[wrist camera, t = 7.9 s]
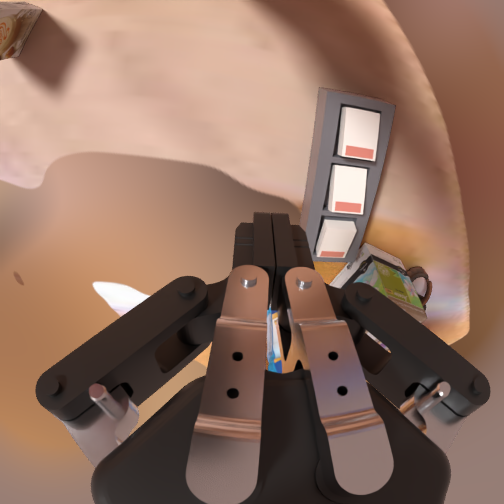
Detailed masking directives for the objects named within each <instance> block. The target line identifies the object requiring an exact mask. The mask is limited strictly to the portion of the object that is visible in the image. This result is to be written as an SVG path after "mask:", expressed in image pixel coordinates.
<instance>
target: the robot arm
mask: <svg viewBox="0 0 504 504" xmlns="http://www.w3.org/2000/svg"><path fill="white" fill-rule="evenodd" d="M270 306H271V310H275V311H277V314H278V319H277V324H276V329H277V336H278V342H279V349H280V355H281V362H282V373H277V372H272V371H268V370H265V358H266V342H267V310H269V307H270ZM366 331H368V332H369V333H371V334H372V335H373V336H374V337H375V338H377V339H378V340H379V341H380V342H382V343H383V344H384V345H385V346H386V347H388V348H389V350H390V351H391V353H389V352H388V351H387V350H385V349H384V348H383V347H382V346H381V345H379V344H378V343H377V342H376V341H375V340H373V339H372V338H371V337H370V336H369V335H367V334H366V333H365V332H366ZM212 341H213V342H212ZM211 342H212V347H211V352H210V357H209V362H208V367H207V372H206V375H205V376H203V377H200V378H197V379H195V380H194V381H192V382H190V383H188V384H187V385H186V386H184V387H183V388H182V389H181V390H180V391H179V392H178V393H177V394H175V395H174V396H173V397H172V398H171V399H170V400H169V401H168V402H167V403H166V404H165V405H164V406H163V407H161V408H160V409H159V410H158V411H157V412H156V413H155V414H154V415H153V416H152V417H151V418H149V419H148V420H147V421H146V422H145V423H144V424H143V425H142V426H141V427H139V428H138V429H137V430H136V431H135V432H134V433H133V434H131V435H130V436H129V434H130V432H131V430H132V429H133V428H134V427H135V426H136V424H137V422H138V419H139V411H138V408H137V406H139V405H140V404H141V403H143V402H144V401H145V400H146V399H147V398H149V397H150V396H151V395H152V394H153V393H155V392H156V391H157V390H158V389H159V388H161V387H162V386H163V385H164V384H165V383H166V382H168V381H169V380H170V379H171V378H172V377H174V376H175V375H176V374H177V373H178V372H180V371H181V370H182V369H183V368H184V367H185V366H186V365H188V363H190V362H191V361H192V360H193V359H195V358H196V357H197V356H198V355H199V354H200V353H201V352H203V351H204V350H205V349H206V348H207V347H208V346H209V345H210V343H211ZM366 380H367V381H368V382H369V383H370V384H369V383H368V382H367V381H366ZM374 387H375V388H376V389H377V390H378V391H377V390H376V389H375V388H374ZM382 394H383V395H384V396H385V397H386V398H387V399H388V400H390V401H391V402H392V403H393V404H394V405H395V406H397V407H398V408H399V409H400V411H399V410H398V409H397V408H396V407H395V406H394V405H393V404H391V403H390V402H389V401H388V400H387V399H386V398H385V397H384V396H383V395H382ZM36 397H37V399H38V401H39V403H40V404H41V405H42V406H43V407H44V408H45V409H47V410H48V411H49V412H51V413H52V414H53V415H54V416H55V417H56V418H57V419H58V420H60V421H61V422H63V424H64V425H65V426H66V428H67V430H68V431H69V433H70V434H71V436H72V437H73V439H74V440H75V442H76V443H77V444H78V446H79V447H80V449H81V450H82V451H83V453H84V454H85V455H86V457H87V458H88V460H89V461H90V462H91V463H92V464H93V466H94V467H95V471H94V473H93V476H92V480H91V492H92V497H93V500H94V503H95V504H444V500H445V496H446V493H447V490H448V487H449V483H450V478H451V469H450V463H449V460H448V458H447V456H446V453H447V451H448V449H449V448H450V446H451V444H452V442H453V441H454V439H455V437H456V435H457V434H458V431H459V430H460V428H461V426H462V424H463V422H464V420H465V418H466V417H467V416H468V415H470V414H471V413H472V412H474V411H475V410H477V409H478V408H479V407H481V406H482V405H483V404H485V403H486V402H487V401H488V399H489V397H490V386H489V382H488V380H487V378H486V377H485V376H484V375H483V374H482V373H481V372H480V371H479V370H477V369H476V368H475V367H474V366H473V365H472V364H470V363H469V362H468V361H467V360H466V359H464V358H463V357H462V356H461V355H459V354H458V353H457V352H456V351H455V350H454V349H452V348H451V347H450V346H449V345H447V344H446V343H445V342H444V341H443V340H441V339H440V338H439V337H438V336H436V335H435V334H434V333H433V332H431V331H430V330H429V329H428V328H426V327H425V326H424V325H422V324H421V323H420V322H419V321H417V320H416V319H415V318H413V317H412V316H411V315H410V314H408V313H407V312H406V311H404V310H403V309H402V308H401V307H399V306H398V305H397V304H395V303H394V302H393V301H391V300H390V299H389V298H387V297H386V296H385V295H383V294H382V293H381V292H379V291H378V290H377V289H375V288H374V287H372V286H371V285H369V284H366V283H363V282H355V283H352V284H350V285H348V286H347V288H346V290H344V289H340V288H337V287H333V286H330V285H328V284H326V283H324V281H323V278H322V277H321V275H320V274H319V273H318V272H316V271H315V268H314V264H313V260H312V256H311V251H310V248H309V243H308V239H307V235H306V232H305V231H304V230H303V229H302V228H301V227H300V226H299V225H290V221H289V215H288V214H287V213H271V214H270V213H265V212H254V215H253V223H240V225H239V226H238V227H237V228H236V233H235V244H234V255H233V267H232V271H231V272H230V275H229V276H228V277H227V278H226V279H224V280H222V281H220V282H217V283H214V284H208V285H206V284H205V283H204V281H202V280H201V279H199V278H197V277H193V276H184V277H179V278H177V279H175V280H173V281H172V282H170V283H169V284H168V285H166V286H165V287H163V288H162V289H160V290H159V291H157V292H156V293H154V294H153V295H152V296H150V297H149V298H147V299H146V300H144V301H143V302H142V303H140V304H139V305H137V306H136V307H134V308H133V309H132V310H130V311H129V312H127V313H126V314H124V315H123V316H122V317H120V318H119V319H117V320H116V321H115V322H113V323H112V324H110V325H109V326H108V327H106V328H105V329H103V330H102V331H100V332H99V333H98V334H96V335H95V336H94V337H92V338H91V339H89V340H88V341H87V342H85V343H84V344H82V345H81V346H80V347H79V348H77V349H76V350H74V351H73V352H72V353H70V354H69V355H67V356H66V357H65V358H63V359H62V360H60V361H59V362H58V363H56V364H55V365H54V366H52V367H51V368H50V369H48V370H47V371H46V372H44V373H43V374H42V375H41V376H40V378H39V379H38V381H37V385H36ZM128 436H129V437H128Z"/></svg>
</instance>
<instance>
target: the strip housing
mask: <svg viewBox="0 0 504 504" xmlns="http://www.w3.org/2000/svg"><path fill="white" fill-rule="evenodd" d="M342 107H349V108H355V109H360V110H365V111H370V112H374V113H379V114H380V122H379V132H378V141H377V150H376V158H375V161H371V160H364V159H358V158H351V157H344V156H340V155H338V144H339V134H340V122H341V110H342ZM395 107H396V105H393V104H391V103H389V102H386V101H384V100H382V99H378V98H373V97H369V96H364V95H360V94H355V93H350V92H344V91H339V90H333V89H327V88H320V87H319V91H318V100H317V108H316V117H315V125H314V132H313V140H312V147H311V155H310V162H309V169H308V175H307V182H306V189H305V195H304V201H303V208H302V214H301V220H300V227H301V228H302V229H303V230H304V231H305V232H306V235H307V239H308V243H309V248H310V251H311V256H312V260H313V261H323V262H351V263H354V262H355V259H356V256H357V253H358V250H359V247H360V244H361V241H362V238H363V235H364V232H365V229H366V226H367V222H368V219H369V216H370V212H371V209H372V205H373V202H374V198H375V195H376V191H377V187H378V184H379V180H380V176H381V172H382V168H383V164H384V160H385V155H386V151H387V147H388V142H389V137H390V133H391V128H392V123H393V118H394V112H395ZM331 165H339V166H347V167H355V168H362V169H367V176H366V188H365V199H364V208H363V215H362V214H351V213H339V212H331V211H329V210H328V203H329V191H330V178H331ZM325 219H326V220H340V221H353V222H354V224H355V227H356V230H357V231H356V234H355V236H354V238H353V240H352V243H351V245H350V247H349V249H348V251H347V254H346V256H345V258H333V257H317V253H316V245H317V242H318V239H319V236H320V232H321V229H322V226H323V223H324V220H325Z"/></svg>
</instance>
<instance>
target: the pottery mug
mask: <svg viewBox="0 0 504 504" xmlns="http://www.w3.org/2000/svg"><path fill="white" fill-rule="evenodd" d="M407 274H408V276H409V278H410V280H411V282H413V281H414V280H415V279H416V278H418V277H424V278H425V279H426V282H427V290H426V294H425V296H424V297H423V296H421V295H418V294H417V295H418V297H419V299H420V302H421V304H422V306H423V308H424V311H425V310H426V303H427V301H428V300H429V298H430V295H431V292H432V282H431V281H429V279H428V275H427V274H426V272H425V270H424V269H423V268H422V267H414V268H411V269H410V270H409V271H407Z"/></svg>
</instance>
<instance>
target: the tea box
mask: <svg viewBox="0 0 504 504" xmlns="http://www.w3.org/2000/svg"><path fill="white" fill-rule="evenodd" d="M355 282H363V283H366V284H369V285H371V286H372V287H374V288H375V289H377V290H378V291H379V292H381V293H382V294H383V295H385V296H386V297H387V298H389V299H390V300H391V301H393V302H394V303H395V304H397V305H398V306H399V307H401V308H402V309H403V310H404V311H406V312H407V313H408V314H410V315H411V316H412V317H413V318H415V319H416V320H417V321H419V322H420V323H422V322H424V321H425V320H426V319H427V316H426V313H425V311H424V308H423V306H422V304H421V302H420V299H419V297H418V295H417V293H416V290H415V288H414V286H413V284H412V282H411V280H410V278H409V276H408V274H407V272H406V270H405V268H404V266H403V264H402V262H401V260H400V259H398V258H397V257H394V256H392V255H390V254H388V253H386V252H384V251H382V250H380V249H378V248H376V247H374V246H372V245H370V244H368V243H366V242H365V243H364V244H363V246H362V247H361V248H360V249H359V250H358V253H357V256H356V259H355V262H354V263H351V262H348V263H347V265H346V266H345V267H344V268H343V270H342V271H341V272H340V273H339V274H338V275H337V276H336V277H335V279H334V280H333V281H332V282H331V283H330V284H329V285H330V286H333V287H337V288H340V289H344V290H346V288H347V286H348V285H350V284H352V283H355ZM365 333H366V334H367V335H369V336H370V337H371V338H372V339H373V340H375V341H376V342H377V343H378V344H379V345H381V346H382V347H383V348H384V349H385V350H387V351H388V350H389V348H388V347H386V346H385V345H384V344H383V343H382V342H380V341H379V340H378V339H377V338H375V337H374V336H373V335H372V334H371V333H369V332H368V331H366V332H365Z"/></svg>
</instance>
